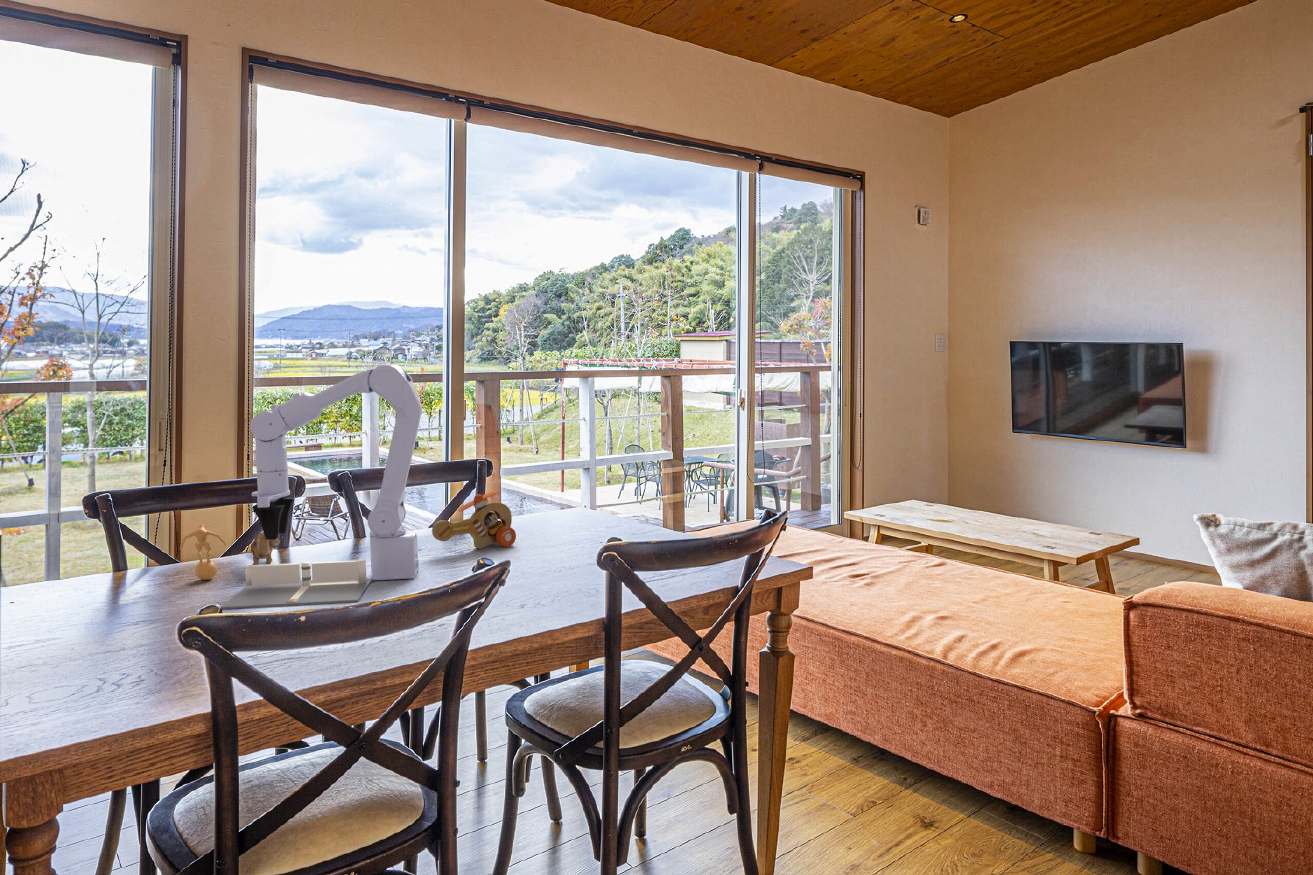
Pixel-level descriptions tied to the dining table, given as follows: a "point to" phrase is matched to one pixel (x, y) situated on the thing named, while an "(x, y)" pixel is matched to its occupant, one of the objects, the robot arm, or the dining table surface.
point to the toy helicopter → (480, 523)
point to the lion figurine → (263, 548)
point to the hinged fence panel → (272, 574)
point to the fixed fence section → (334, 571)
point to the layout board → (297, 594)
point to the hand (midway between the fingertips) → (276, 536)
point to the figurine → (204, 568)
